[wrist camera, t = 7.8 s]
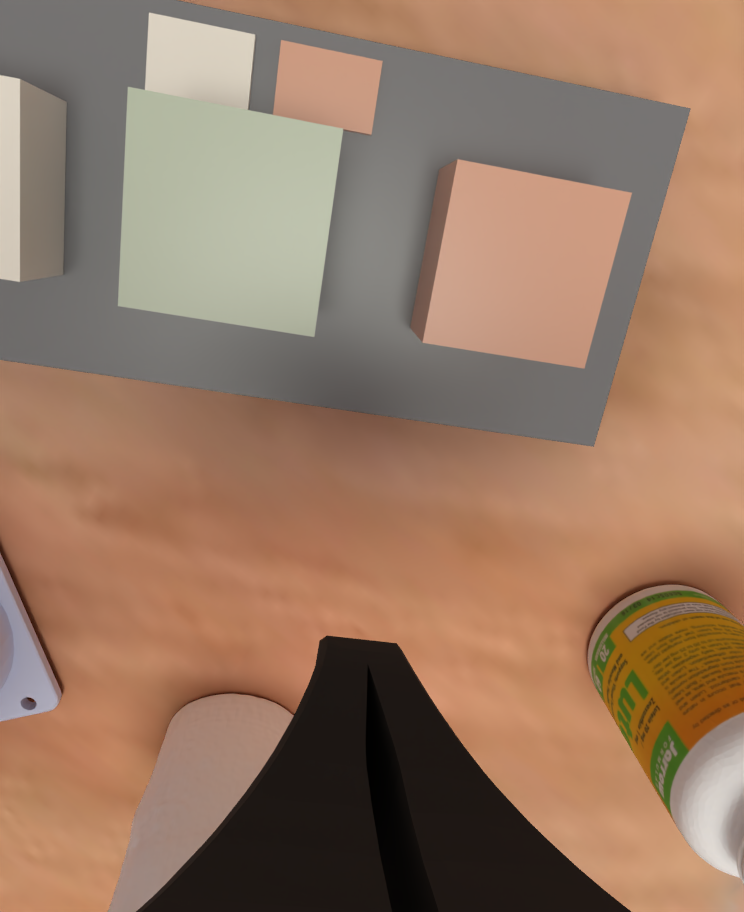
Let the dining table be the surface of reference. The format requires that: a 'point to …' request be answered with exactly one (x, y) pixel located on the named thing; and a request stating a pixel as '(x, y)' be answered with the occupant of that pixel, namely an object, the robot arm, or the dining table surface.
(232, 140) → the sage key
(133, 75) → the grey key panel base
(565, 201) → the terracotta key
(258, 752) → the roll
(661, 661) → the supplement bottle
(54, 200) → the cream key
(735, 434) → the dining table surface
